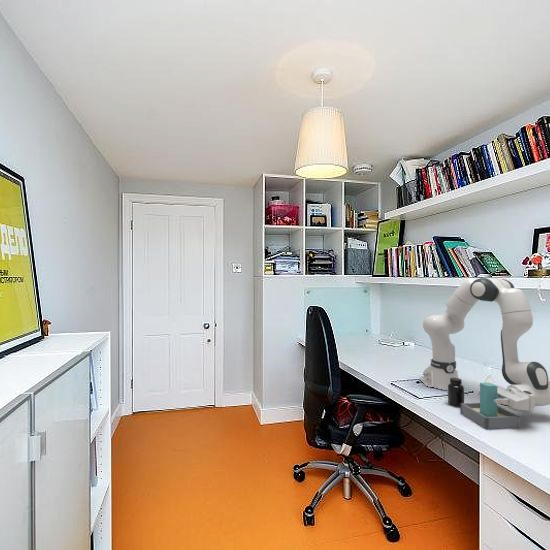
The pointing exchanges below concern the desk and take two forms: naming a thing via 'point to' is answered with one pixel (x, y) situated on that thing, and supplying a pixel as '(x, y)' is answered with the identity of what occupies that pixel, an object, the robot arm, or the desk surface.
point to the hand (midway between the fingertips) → (486, 396)
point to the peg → (488, 399)
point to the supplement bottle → (455, 392)
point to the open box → (499, 422)
